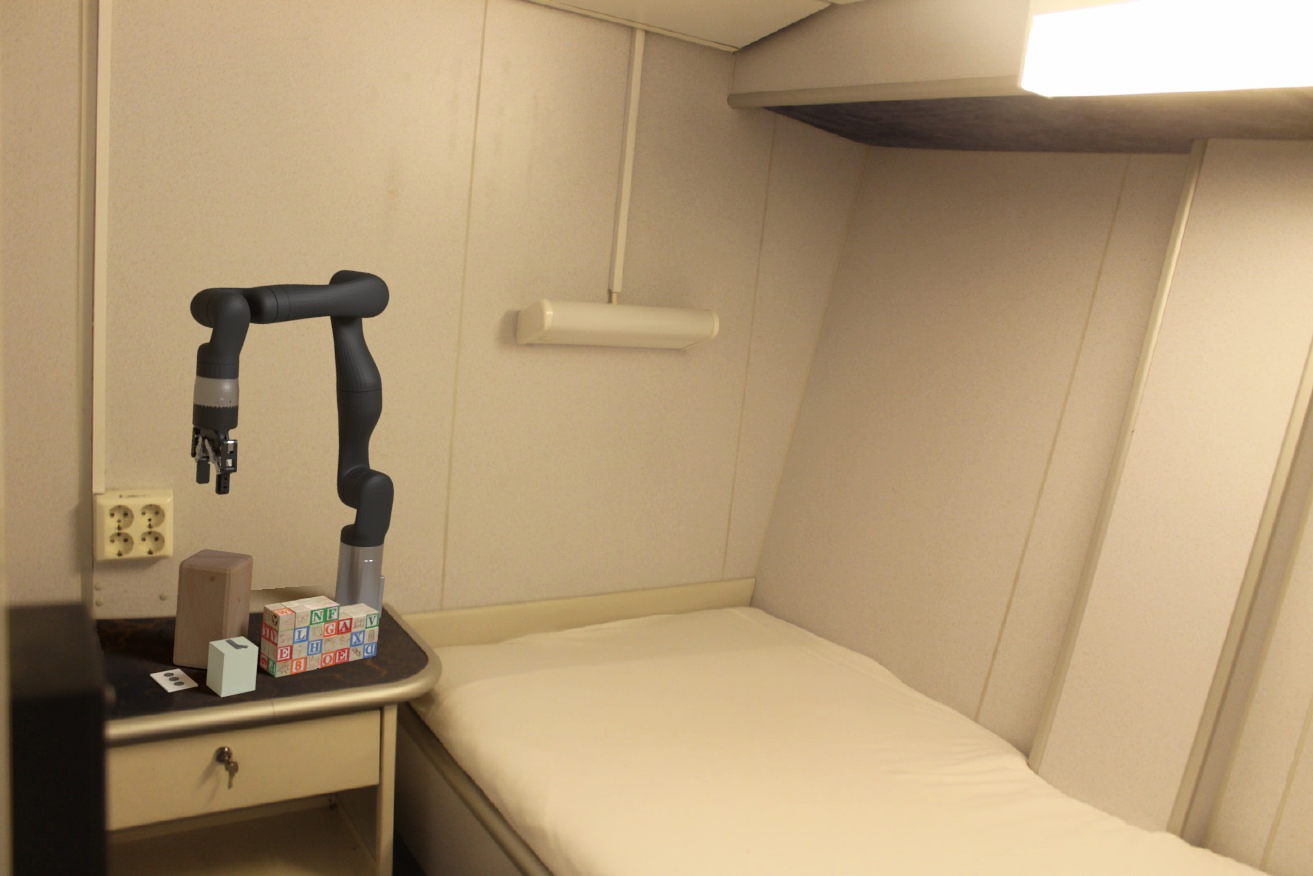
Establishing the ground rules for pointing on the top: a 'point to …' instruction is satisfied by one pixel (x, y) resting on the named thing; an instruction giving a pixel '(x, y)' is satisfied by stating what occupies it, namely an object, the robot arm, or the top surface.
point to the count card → (173, 680)
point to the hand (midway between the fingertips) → (212, 488)
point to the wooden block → (211, 603)
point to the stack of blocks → (315, 635)
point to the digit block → (232, 666)
